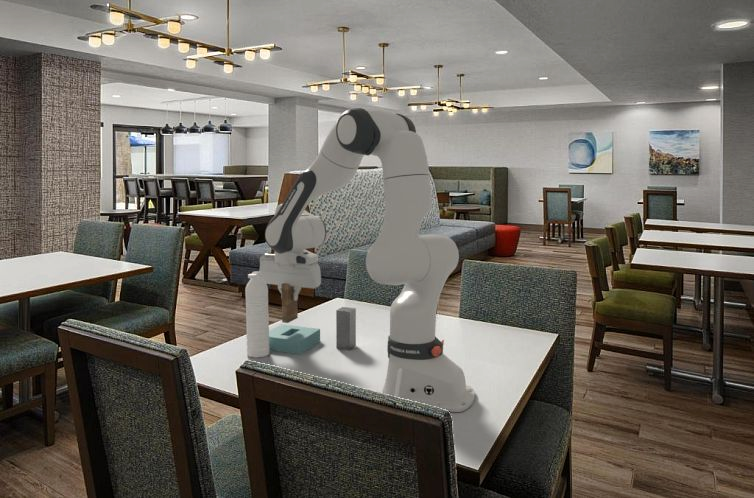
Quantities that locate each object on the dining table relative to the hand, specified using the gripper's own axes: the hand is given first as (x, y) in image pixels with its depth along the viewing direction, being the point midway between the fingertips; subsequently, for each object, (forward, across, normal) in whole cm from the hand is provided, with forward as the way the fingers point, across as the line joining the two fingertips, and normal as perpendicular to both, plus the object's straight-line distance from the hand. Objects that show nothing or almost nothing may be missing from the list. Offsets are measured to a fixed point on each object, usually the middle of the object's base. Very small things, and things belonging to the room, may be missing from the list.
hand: (289, 299), depth 166 cm
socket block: (+14, 0, 0) cm, 14 cm away
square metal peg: (+14, +17, +4) cm, 23 cm away
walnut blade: (+7, 0, 0) cm, 7 cm away
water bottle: (+15, -4, -12) cm, 20 cm away
